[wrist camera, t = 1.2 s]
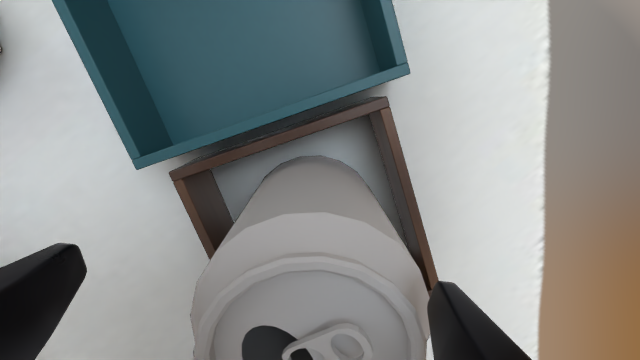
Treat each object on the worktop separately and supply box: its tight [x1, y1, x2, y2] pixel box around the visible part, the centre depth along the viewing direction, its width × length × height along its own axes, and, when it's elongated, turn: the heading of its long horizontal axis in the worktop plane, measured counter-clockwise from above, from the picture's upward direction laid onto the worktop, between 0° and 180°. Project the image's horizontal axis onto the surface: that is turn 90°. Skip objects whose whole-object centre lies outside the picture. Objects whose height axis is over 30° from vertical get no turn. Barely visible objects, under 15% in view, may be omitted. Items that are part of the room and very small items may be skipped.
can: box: [190, 156, 430, 360], centre depth 14 cm, size 8×8×12 cm
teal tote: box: [52, 0, 410, 170], centre depth 15 cm, size 11×13×4 cm
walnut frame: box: [169, 96, 439, 298], centre depth 18 cm, size 11×11×4 cm
